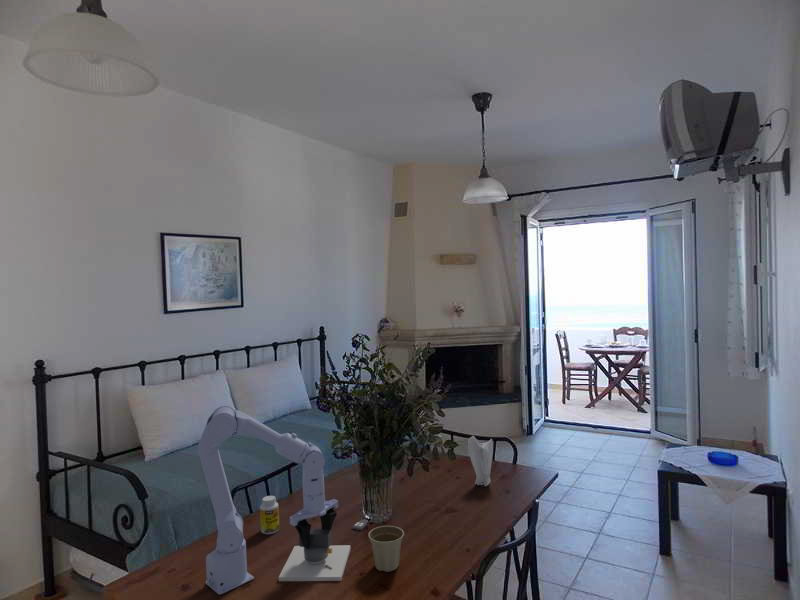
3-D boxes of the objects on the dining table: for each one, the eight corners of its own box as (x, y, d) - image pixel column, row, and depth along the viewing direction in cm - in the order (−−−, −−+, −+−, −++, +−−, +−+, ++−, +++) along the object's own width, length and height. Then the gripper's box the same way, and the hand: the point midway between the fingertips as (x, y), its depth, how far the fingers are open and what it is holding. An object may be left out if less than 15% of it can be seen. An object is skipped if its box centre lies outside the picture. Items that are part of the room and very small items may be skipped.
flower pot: (385, 553, 142) (384, 522, 142) (412, 563, 136) (411, 531, 136) (362, 568, 135) (360, 535, 135) (389, 579, 129) (388, 545, 129)
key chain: (362, 532, 156) (361, 527, 156) (351, 530, 157) (351, 525, 157) (380, 514, 168) (380, 510, 168) (370, 513, 169) (370, 508, 169)
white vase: (497, 482, 190) (495, 434, 190) (488, 490, 183) (487, 440, 183) (476, 478, 195) (475, 431, 195) (467, 486, 188) (465, 437, 188)
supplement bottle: (264, 537, 154) (262, 503, 154) (258, 530, 159) (257, 497, 159) (282, 531, 157) (280, 498, 157) (275, 525, 162) (274, 493, 162)
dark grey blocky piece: (297, 561, 135) (296, 536, 135) (306, 548, 141) (305, 525, 141) (328, 562, 134) (327, 538, 134) (335, 550, 140) (334, 526, 140)
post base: (341, 580, 129) (340, 572, 129) (278, 581, 130) (278, 573, 130) (350, 548, 145) (350, 541, 145) (294, 549, 146) (294, 542, 146)
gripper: (299, 505, 129) (302, 558, 130) (344, 487, 140) (346, 536, 140) (284, 498, 134) (286, 549, 134) (328, 481, 145) (330, 529, 145)
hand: (316, 542), depth 137 cm, fingers open, 6 cm apart
